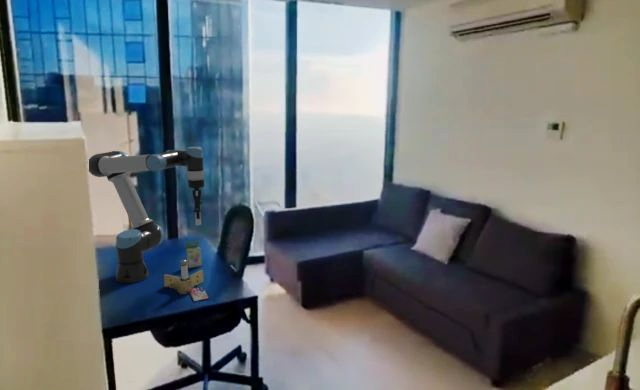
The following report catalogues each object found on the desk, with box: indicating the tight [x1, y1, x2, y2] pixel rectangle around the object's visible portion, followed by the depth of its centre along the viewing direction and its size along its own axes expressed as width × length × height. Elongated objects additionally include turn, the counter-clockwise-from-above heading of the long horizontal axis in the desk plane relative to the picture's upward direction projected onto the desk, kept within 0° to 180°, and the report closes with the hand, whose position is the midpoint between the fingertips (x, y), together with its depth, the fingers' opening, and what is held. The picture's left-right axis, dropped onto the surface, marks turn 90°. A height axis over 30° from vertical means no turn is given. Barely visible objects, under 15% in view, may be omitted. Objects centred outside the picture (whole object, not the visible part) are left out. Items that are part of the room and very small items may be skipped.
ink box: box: [185, 240, 203, 269], centre depth 240 cm, size 7×4×13 cm, turn 120°
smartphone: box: [188, 285, 211, 303], centre depth 209 cm, size 8×1×15 cm
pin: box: [179, 259, 189, 281], centre depth 210 cm, size 3×3×15 cm
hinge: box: [163, 269, 204, 295], centre depth 217 cm, size 15×16×6 cm
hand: (198, 221), depth 223 cm, fingers open, 13 cm apart
